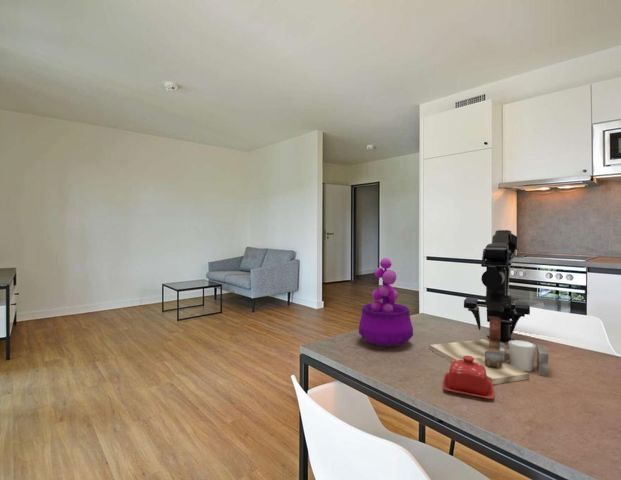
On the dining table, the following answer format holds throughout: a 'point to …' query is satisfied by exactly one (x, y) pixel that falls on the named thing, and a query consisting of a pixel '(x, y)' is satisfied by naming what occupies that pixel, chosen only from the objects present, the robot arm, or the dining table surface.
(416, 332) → the dining table surface
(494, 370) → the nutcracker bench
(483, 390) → the butter dish
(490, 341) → the lever
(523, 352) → the white mug
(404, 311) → the decorative plant
